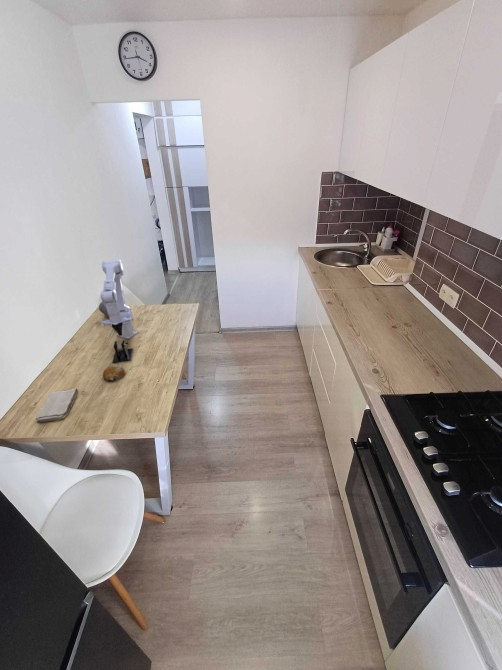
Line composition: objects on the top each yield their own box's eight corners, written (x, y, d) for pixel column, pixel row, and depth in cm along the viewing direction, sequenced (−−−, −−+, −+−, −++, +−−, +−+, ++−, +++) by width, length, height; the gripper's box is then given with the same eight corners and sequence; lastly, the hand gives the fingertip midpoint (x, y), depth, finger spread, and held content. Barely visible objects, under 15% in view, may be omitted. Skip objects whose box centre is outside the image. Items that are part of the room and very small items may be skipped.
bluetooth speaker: (131, 321, 204) (127, 307, 199) (117, 327, 198) (113, 312, 193) (113, 311, 217) (109, 298, 212) (100, 316, 211) (96, 303, 206)
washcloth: (36, 424, 131) (33, 419, 130) (52, 395, 146) (49, 389, 145) (66, 419, 133) (63, 414, 131) (79, 391, 148) (76, 386, 146)
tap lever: (119, 346, 175) (118, 342, 174) (128, 345, 175) (127, 341, 175) (114, 349, 165) (114, 344, 165) (124, 347, 166) (123, 343, 165)
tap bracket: (116, 352, 174) (111, 338, 170) (133, 349, 176) (129, 336, 171) (113, 364, 165) (108, 350, 160) (130, 361, 166) (126, 347, 162)
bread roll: (129, 379, 159) (129, 364, 158) (114, 384, 150) (115, 368, 148) (113, 376, 162) (113, 360, 161) (97, 380, 152) (98, 364, 151)
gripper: (97, 318, 160) (105, 340, 167) (127, 314, 162) (133, 336, 169) (100, 311, 166) (107, 333, 173) (129, 308, 168) (135, 330, 175)
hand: (120, 334), depth 172 cm, fingers closed
